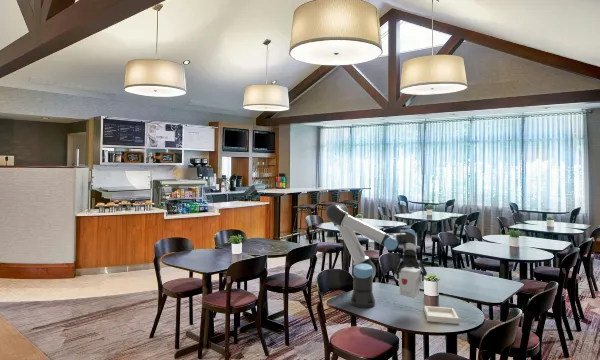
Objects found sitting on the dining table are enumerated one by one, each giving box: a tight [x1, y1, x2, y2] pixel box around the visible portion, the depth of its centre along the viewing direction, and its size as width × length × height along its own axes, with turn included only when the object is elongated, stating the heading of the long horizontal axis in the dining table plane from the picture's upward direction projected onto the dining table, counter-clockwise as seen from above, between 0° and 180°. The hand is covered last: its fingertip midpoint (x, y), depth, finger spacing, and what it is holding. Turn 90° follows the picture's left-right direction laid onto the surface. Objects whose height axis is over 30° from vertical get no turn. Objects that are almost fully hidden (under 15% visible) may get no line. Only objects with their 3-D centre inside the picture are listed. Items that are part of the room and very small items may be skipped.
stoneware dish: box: [423, 305, 460, 325], centre depth 220 cm, size 16×16×3 cm
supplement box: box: [399, 266, 422, 299], centre depth 225 cm, size 9×9×15 cm
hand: (410, 284), depth 223 cm, fingers closed on supplement box, 11 cm apart
